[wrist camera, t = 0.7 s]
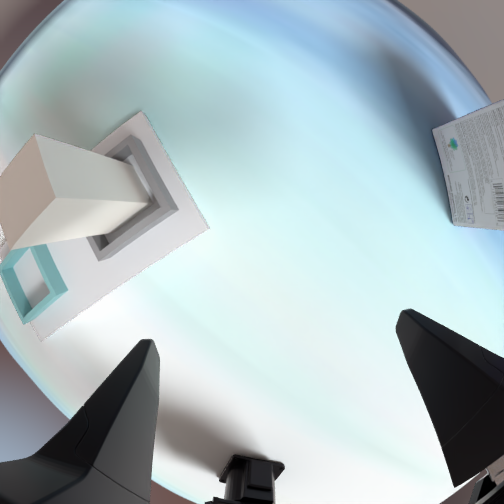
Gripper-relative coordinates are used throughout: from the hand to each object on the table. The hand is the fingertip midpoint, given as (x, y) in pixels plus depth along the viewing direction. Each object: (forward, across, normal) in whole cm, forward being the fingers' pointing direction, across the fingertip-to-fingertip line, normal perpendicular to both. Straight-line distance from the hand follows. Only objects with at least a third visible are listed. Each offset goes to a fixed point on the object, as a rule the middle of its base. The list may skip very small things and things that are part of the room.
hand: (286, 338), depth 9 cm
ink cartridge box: (+14, -21, -3) cm, 25 cm away
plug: (+15, +10, -1) cm, 19 cm away
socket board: (+16, +16, +2) cm, 23 cm away
